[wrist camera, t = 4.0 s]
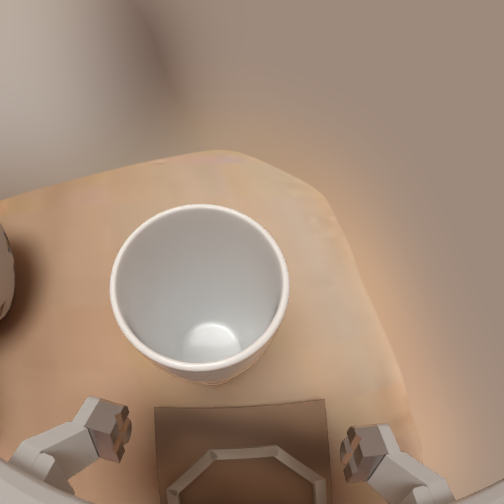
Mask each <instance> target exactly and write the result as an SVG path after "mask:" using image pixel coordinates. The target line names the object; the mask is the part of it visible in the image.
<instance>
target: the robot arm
mask: <svg viewBox="0 0 504 504" xmlns="http://www.w3.org/2000/svg"><path fill="white" fill-rule="evenodd" d="M128 413H129V411H128V407H127V406H125V405H122V404H118V403H115V402H111V401H108V400H105V399H101V398H98V397H94V396H91V395H90V396H89V397H87V399H86V400H85V402H84V403H83V405H82V406H81V408H80V410H79V411H78V413H77V414H76V416H75V418H74V419H73V421H72V422H69V421H68V422H66V423H63V424H61V425H59V426H57V427H54V428H52V429H50V430H48V431H45V432H43V433H40V434H38V435H36V436H33V437H31V438H28V439H26V440H24V441H22V442H21V444H20V445H19V447H18V448H17V450H16V451H15V453H14V454H13V456H12V457H11V459H10V460H9V462H7V461H5V460H4V459H2V458H0V504H95V503H92V502H89V501H87V500H84V499H82V498H79V497H77V496H74V494H75V492H74V489H73V488H72V486H71V485H70V483H69V482H68V479H69V478H71V477H72V476H74V475H76V474H77V473H79V472H80V471H82V470H83V469H85V468H86V467H87V466H89V465H90V464H92V463H93V462H95V461H96V460H98V459H99V457H100V458H103V459H106V460H110V461H113V462H117V463H120V461H121V459H122V456H123V454H124V451H125V450H124V446H123V445H124V444H126V443H128V441H129V439H130V436H131V430H132V426H131V420H130V419H129V418H128V417H127V416H128ZM347 435H348V437H347V438H345V439H344V440H343V442H342V444H341V448H340V458H341V462H342V463H344V464H345V465H346V467H345V469H344V474H345V478H346V482H347V483H355V482H365V481H367V483H368V484H369V485H370V486H371V487H372V488H373V489H374V490H375V491H376V492H377V493H379V494H380V495H381V496H382V497H383V498H384V499H385V500H386V501H387V502H388V503H389V504H504V479H502V480H500V481H498V482H496V483H494V484H493V485H490V486H488V487H486V488H484V489H482V490H479V491H477V492H475V493H473V494H470V495H468V496H466V497H463V498H461V499H458V500H455V498H454V496H453V494H452V492H451V490H450V488H449V485H448V483H447V481H446V480H445V478H444V477H442V476H440V475H439V474H437V473H436V472H434V471H433V470H431V469H429V468H428V467H426V466H425V465H423V464H422V463H420V462H419V461H417V460H416V459H414V458H413V457H411V456H410V455H408V454H407V453H405V452H401V451H400V448H399V446H398V444H397V442H396V439H395V437H394V435H393V433H392V431H391V428H390V426H389V425H388V424H387V423H385V424H375V425H374V424H373V425H362V426H351V427H350V428H349V429H348V431H347Z"/></svg>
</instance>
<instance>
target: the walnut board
mask: <svg viewBox="0 0 504 504" xmlns="http://www.w3.org/2000/svg"><path fill="white" fill-rule="evenodd" d="M154 417H155V440H156V456H157V469H158V480H159V490H160V499H161V504H332V487H331V470H330V456H329V443H328V431H327V420H326V409H325V399H322V400H315V401H308V402H300V403H291V404H281V405H269V406H256V407H238V408H162V407H154Z"/></svg>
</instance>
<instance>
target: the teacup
mask: <svg viewBox="0 0 504 504" xmlns="http://www.w3.org/2000/svg"><path fill="white" fill-rule="evenodd" d="M14 288H15V265H14V258H13V254H12V250H11V247H10V243H9V241H8V238H7V236H6V234H5V232H4V229H3V228H2V226H1V224H0V319H2V318H3V317H4V316H5V315H6V314H7V312H8V310H9V309H10V307H11V303H12V299H13V296H14Z"/></svg>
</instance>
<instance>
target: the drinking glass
mask: <svg viewBox="0 0 504 504" xmlns="http://www.w3.org/2000/svg"><path fill="white" fill-rule="evenodd" d="M289 290H290V282H289V273H288V268H287V264H286V261H285V258H284V256H283V253H282V251H281V250H280V248H279V246H278V244H277V243H276V241H275V240H274V239H273V237H272V236H271V235H270V234H269V233H268V232H267V231H266V230H265V228H263V227H262V226H261V225H260V224H259V223H257V222H256V221H255V220H253V219H252V218H250V217H248V216H247V215H245V214H243V213H241V212H239V211H236V210H233V209H231V208H227V207H224V206H219V205H212V204H190V205H183V206H179V207H175V208H171V209H168V210H166V211H163V212H161V213H159V214H157V215H155V216H153V217H152V218H150V219H148V220H147V221H145V222H144V223H143V224H141V225H140V226H139V227H138V228H137V229H136V230H135V231H134V232H133V233H132V234H131V235H130V236H129V237H128V239H127V240H126V241H125V242H124V244H123V245H122V247H121V249H120V251H119V252H118V254H117V257H116V259H115V262H114V265H113V268H112V272H111V277H110V300H111V305H112V310H113V313H114V316H115V319H116V321H117V323H118V325H119V327H120V329H121V330H122V332H123V334H124V335H125V336H126V338H127V339H128V340H129V341H130V342H131V344H132V345H133V346H134V347H135V348H136V349H137V350H138V351H139V352H140V353H141V354H142V355H143V356H144V357H145V358H147V359H148V360H149V361H150V362H151V363H153V364H154V365H155V366H157V367H158V368H160V369H161V370H163V371H164V372H166V373H168V374H170V375H172V376H174V377H176V378H179V379H182V380H185V381H188V382H193V383H201V384H205V385H220V384H223V383H226V382H228V381H230V380H231V379H233V378H234V377H236V376H238V375H240V374H241V373H243V372H244V371H246V370H247V369H248V368H250V367H251V366H252V365H253V364H254V363H255V362H256V361H257V360H258V359H259V358H260V357H261V356H262V355H263V353H264V352H265V351H266V349H267V348H268V346H269V345H270V343H271V342H272V340H273V338H274V336H275V334H276V332H277V330H278V328H279V326H280V323H281V321H282V319H283V317H284V314H285V312H286V308H287V304H288V299H289Z"/></svg>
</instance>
